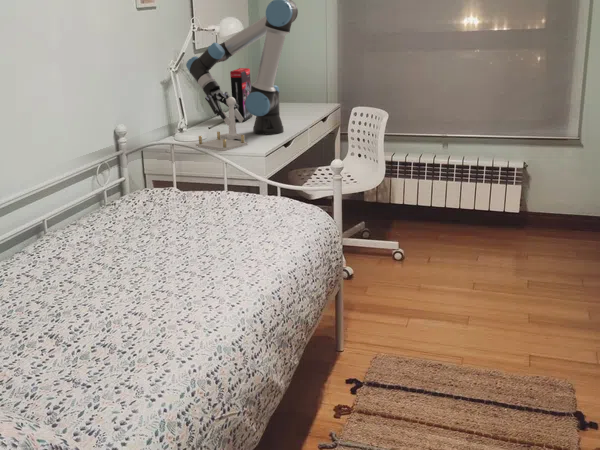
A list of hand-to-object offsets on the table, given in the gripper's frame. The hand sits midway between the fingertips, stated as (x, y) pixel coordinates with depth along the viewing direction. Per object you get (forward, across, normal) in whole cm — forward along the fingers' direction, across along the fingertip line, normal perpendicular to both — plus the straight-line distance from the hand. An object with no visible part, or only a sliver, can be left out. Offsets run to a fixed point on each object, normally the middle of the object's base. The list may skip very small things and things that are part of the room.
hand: (235, 122), depth 324 cm
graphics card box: (-20, -46, -33) cm, 60 cm away
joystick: (+4, 0, -9) cm, 9 cm away
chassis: (+8, +13, -4) cm, 16 cm away
